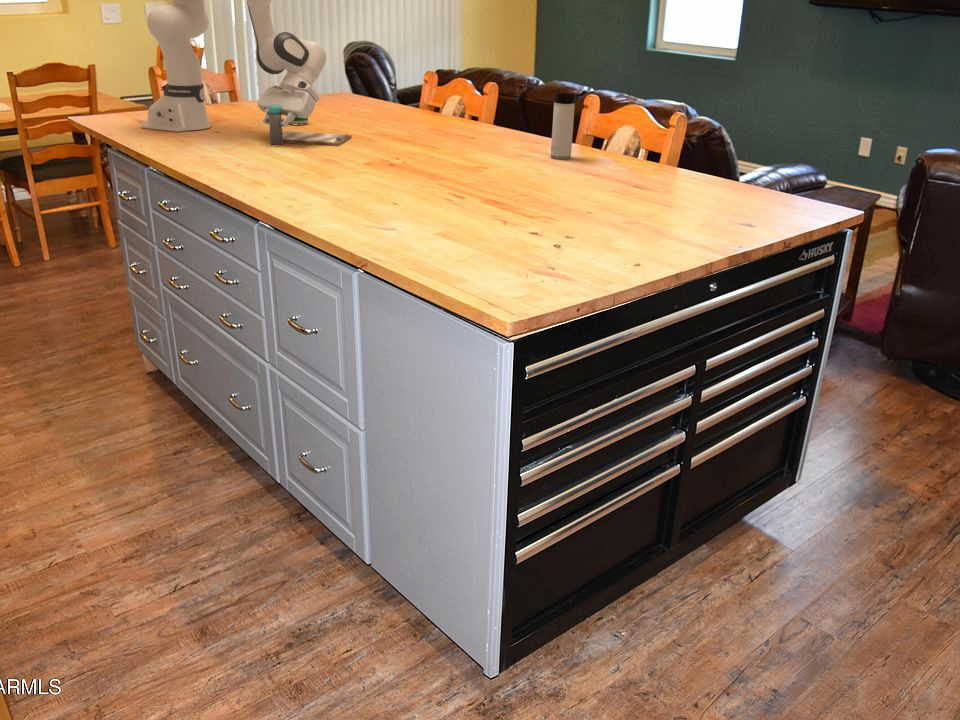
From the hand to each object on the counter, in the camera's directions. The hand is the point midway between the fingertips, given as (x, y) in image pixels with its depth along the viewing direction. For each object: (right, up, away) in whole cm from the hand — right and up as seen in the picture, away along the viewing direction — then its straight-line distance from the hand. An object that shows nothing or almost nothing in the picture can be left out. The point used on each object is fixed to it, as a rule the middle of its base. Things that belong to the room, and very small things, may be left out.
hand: (274, 124), depth 280 cm
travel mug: (+89, -11, -1) cm, 90 cm away
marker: (0, -6, +3) cm, 6 cm away
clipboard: (+10, -2, +12) cm, 16 cm away
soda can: (0, +10, +37) cm, 39 cm away
